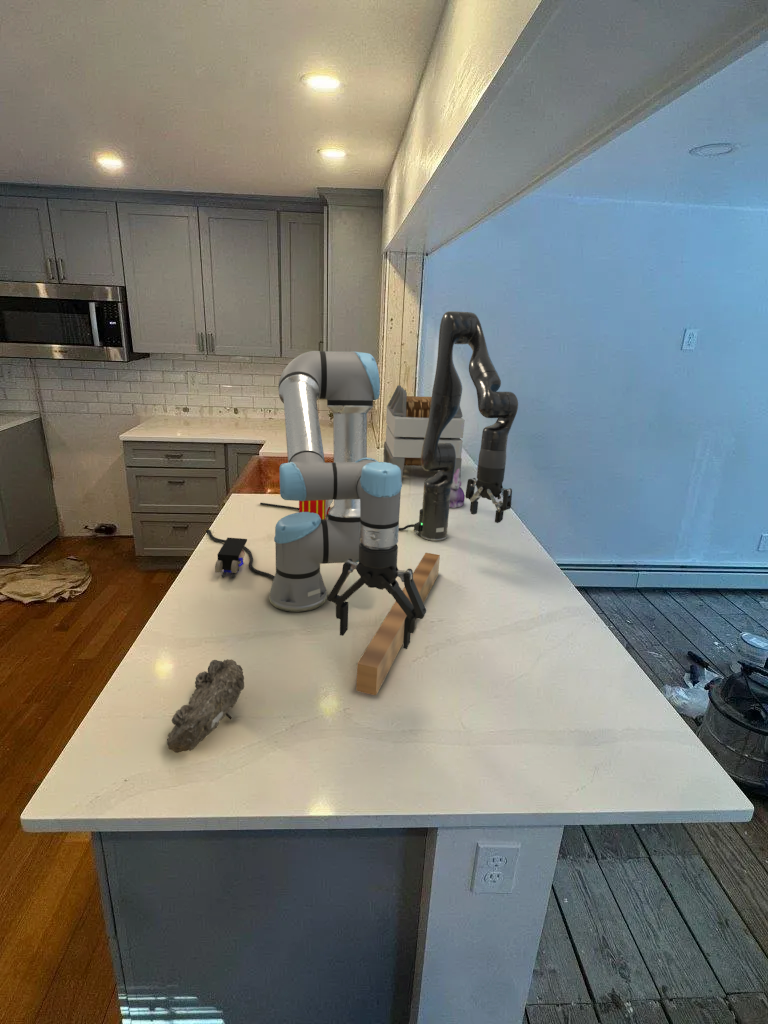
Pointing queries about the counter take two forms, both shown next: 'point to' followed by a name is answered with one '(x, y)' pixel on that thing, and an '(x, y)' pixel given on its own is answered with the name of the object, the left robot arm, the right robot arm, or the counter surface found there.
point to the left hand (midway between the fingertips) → (374, 638)
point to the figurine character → (230, 556)
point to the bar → (393, 632)
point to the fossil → (206, 705)
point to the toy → (316, 507)
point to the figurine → (456, 491)
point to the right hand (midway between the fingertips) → (485, 518)
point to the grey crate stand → (415, 430)
